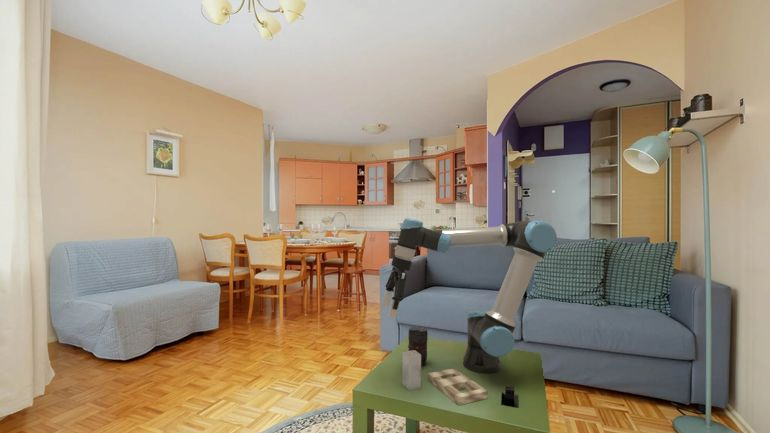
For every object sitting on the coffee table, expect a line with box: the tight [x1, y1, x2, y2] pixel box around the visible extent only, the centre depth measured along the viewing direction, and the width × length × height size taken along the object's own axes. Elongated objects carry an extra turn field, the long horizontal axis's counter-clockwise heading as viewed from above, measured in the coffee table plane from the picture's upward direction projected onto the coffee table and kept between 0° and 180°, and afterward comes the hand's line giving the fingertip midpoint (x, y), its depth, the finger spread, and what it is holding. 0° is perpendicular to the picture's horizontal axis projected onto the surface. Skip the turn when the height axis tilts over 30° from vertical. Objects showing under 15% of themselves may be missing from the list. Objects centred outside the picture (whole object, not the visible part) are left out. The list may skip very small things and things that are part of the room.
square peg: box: [402, 350, 422, 391], centre depth 128 cm, size 5×5×12 cm
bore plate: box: [427, 368, 489, 406], centre depth 127 cm, size 12×20×2 cm, turn 23°
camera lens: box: [407, 325, 429, 367], centre depth 149 cm, size 8×8×15 cm
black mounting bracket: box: [500, 384, 520, 409], centre depth 119 cm, size 12×7×5 cm, turn 160°
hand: (388, 312), depth 133 cm, fingers open, 13 cm apart
